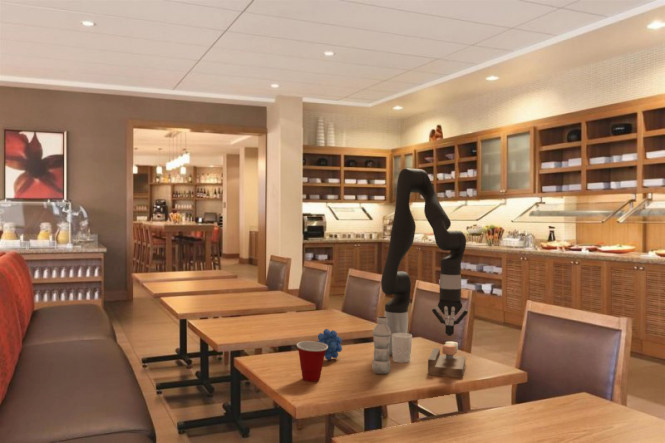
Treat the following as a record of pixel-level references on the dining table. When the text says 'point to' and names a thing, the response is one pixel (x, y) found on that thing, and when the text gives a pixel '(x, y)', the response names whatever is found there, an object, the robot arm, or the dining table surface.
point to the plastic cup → (311, 359)
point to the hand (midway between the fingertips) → (449, 335)
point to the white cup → (401, 347)
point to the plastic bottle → (381, 346)
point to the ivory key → (452, 343)
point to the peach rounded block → (449, 351)
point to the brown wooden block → (445, 365)
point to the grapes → (330, 343)
